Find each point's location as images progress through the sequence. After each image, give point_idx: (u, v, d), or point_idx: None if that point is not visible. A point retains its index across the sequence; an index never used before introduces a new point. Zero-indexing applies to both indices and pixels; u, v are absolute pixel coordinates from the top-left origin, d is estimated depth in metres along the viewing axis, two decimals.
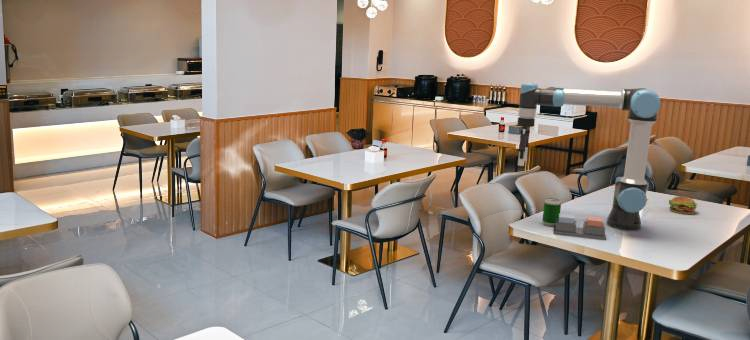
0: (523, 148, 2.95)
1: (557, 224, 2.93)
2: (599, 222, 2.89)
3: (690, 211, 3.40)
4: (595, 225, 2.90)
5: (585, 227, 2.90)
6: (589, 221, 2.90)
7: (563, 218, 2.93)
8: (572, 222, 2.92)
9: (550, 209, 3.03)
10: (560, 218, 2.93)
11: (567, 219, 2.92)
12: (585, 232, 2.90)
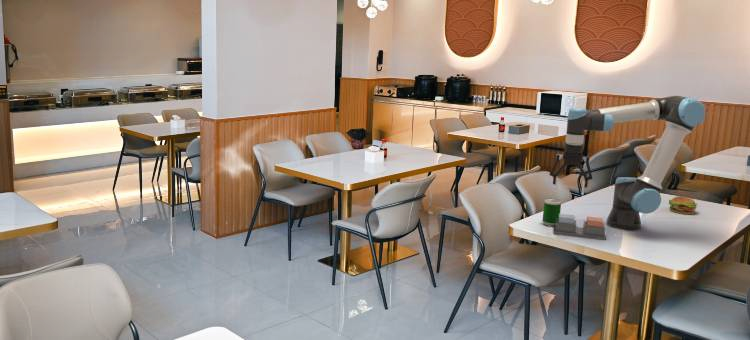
0: (550, 172, 2.93)
1: (557, 224, 2.93)
2: (599, 222, 2.89)
3: (690, 211, 3.40)
4: (595, 225, 2.90)
5: (585, 227, 2.90)
6: (589, 221, 2.90)
7: (563, 218, 2.93)
8: (572, 222, 2.92)
9: (550, 209, 3.03)
10: (560, 218, 2.93)
11: (567, 219, 2.92)
12: (585, 232, 2.90)
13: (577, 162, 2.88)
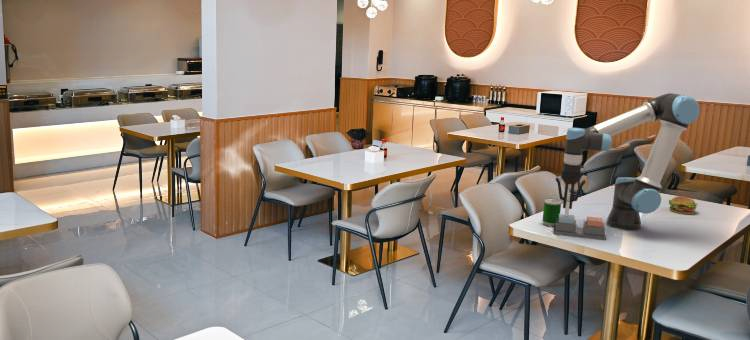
0: (560, 196, 2.94)
1: (557, 224, 2.93)
2: (599, 222, 2.89)
3: (690, 211, 3.40)
4: (595, 225, 2.90)
5: (585, 227, 2.90)
6: (589, 221, 2.90)
7: (563, 218, 2.93)
8: (572, 222, 2.92)
9: (550, 209, 3.03)
10: (560, 218, 2.93)
11: (567, 219, 2.92)
12: (585, 232, 2.90)
13: (573, 182, 2.90)
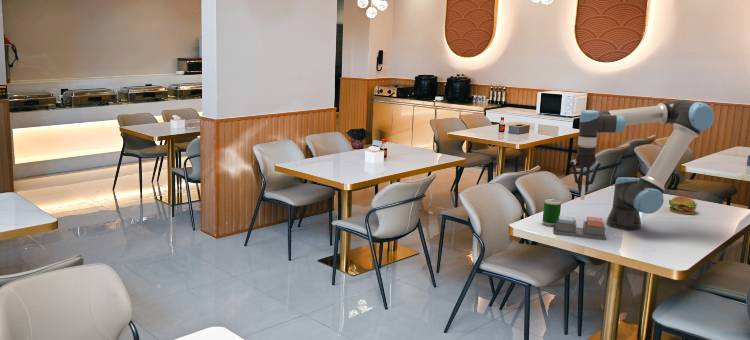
0: None
1: (557, 224, 2.93)
2: (599, 222, 2.89)
3: (690, 211, 3.40)
4: (595, 225, 2.90)
5: (585, 227, 2.90)
6: (589, 221, 2.90)
7: (563, 220, 2.93)
8: None
9: (550, 209, 3.03)
10: (560, 220, 2.93)
11: (567, 221, 2.93)
12: (585, 232, 2.90)
13: (588, 165, 2.88)
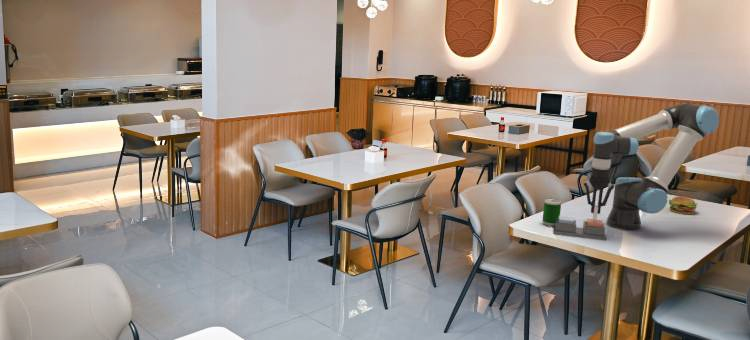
0: None
1: (557, 224, 2.93)
2: (599, 224, 2.89)
3: (690, 211, 3.40)
4: None
5: (585, 227, 2.90)
6: (589, 223, 2.90)
7: (563, 220, 2.93)
8: None
9: (550, 209, 3.03)
10: (560, 220, 2.93)
11: (567, 221, 2.93)
12: (585, 232, 2.90)
13: (601, 187, 2.88)
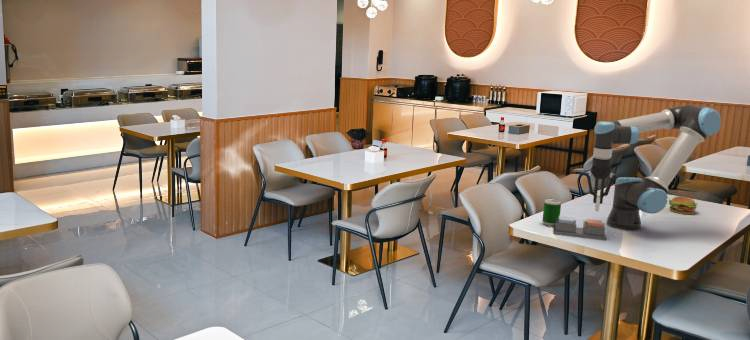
0: None
1: (557, 224, 2.93)
2: (599, 224, 2.89)
3: (690, 211, 3.40)
4: None
5: (585, 227, 2.90)
6: (589, 223, 2.90)
7: (563, 220, 2.93)
8: None
9: (550, 209, 3.03)
10: (560, 220, 2.93)
11: (567, 221, 2.93)
12: (585, 232, 2.90)
13: (603, 176, 2.87)
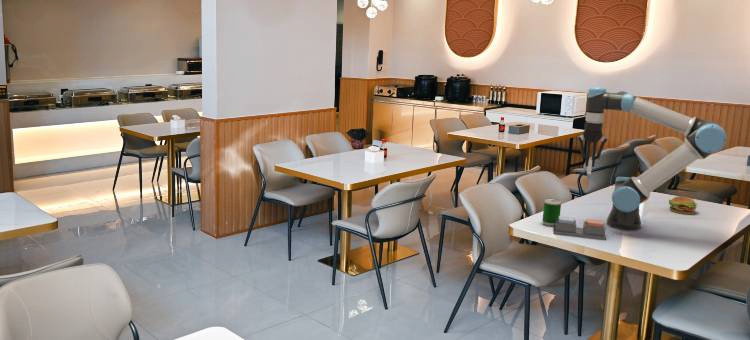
0: None
1: (557, 224, 2.93)
2: (599, 224, 2.89)
3: (690, 211, 3.40)
4: None
5: (585, 227, 2.90)
6: (589, 223, 2.90)
7: (563, 220, 2.93)
8: None
9: (550, 209, 3.03)
10: (560, 220, 2.93)
11: (567, 221, 2.93)
12: (585, 232, 2.90)
13: (595, 140, 2.98)
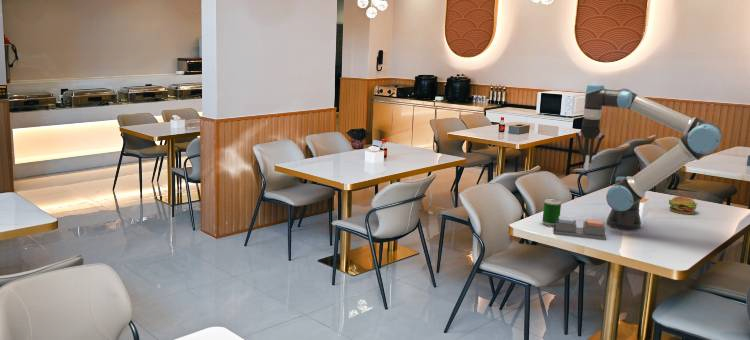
0: None
1: (557, 224, 2.93)
2: (599, 224, 2.89)
3: (690, 211, 3.40)
4: None
5: (585, 227, 2.90)
6: (589, 223, 2.90)
7: (563, 220, 2.93)
8: None
9: (550, 209, 3.03)
10: (560, 220, 2.93)
11: (567, 221, 2.93)
12: (585, 232, 2.90)
13: (592, 136, 3.00)
